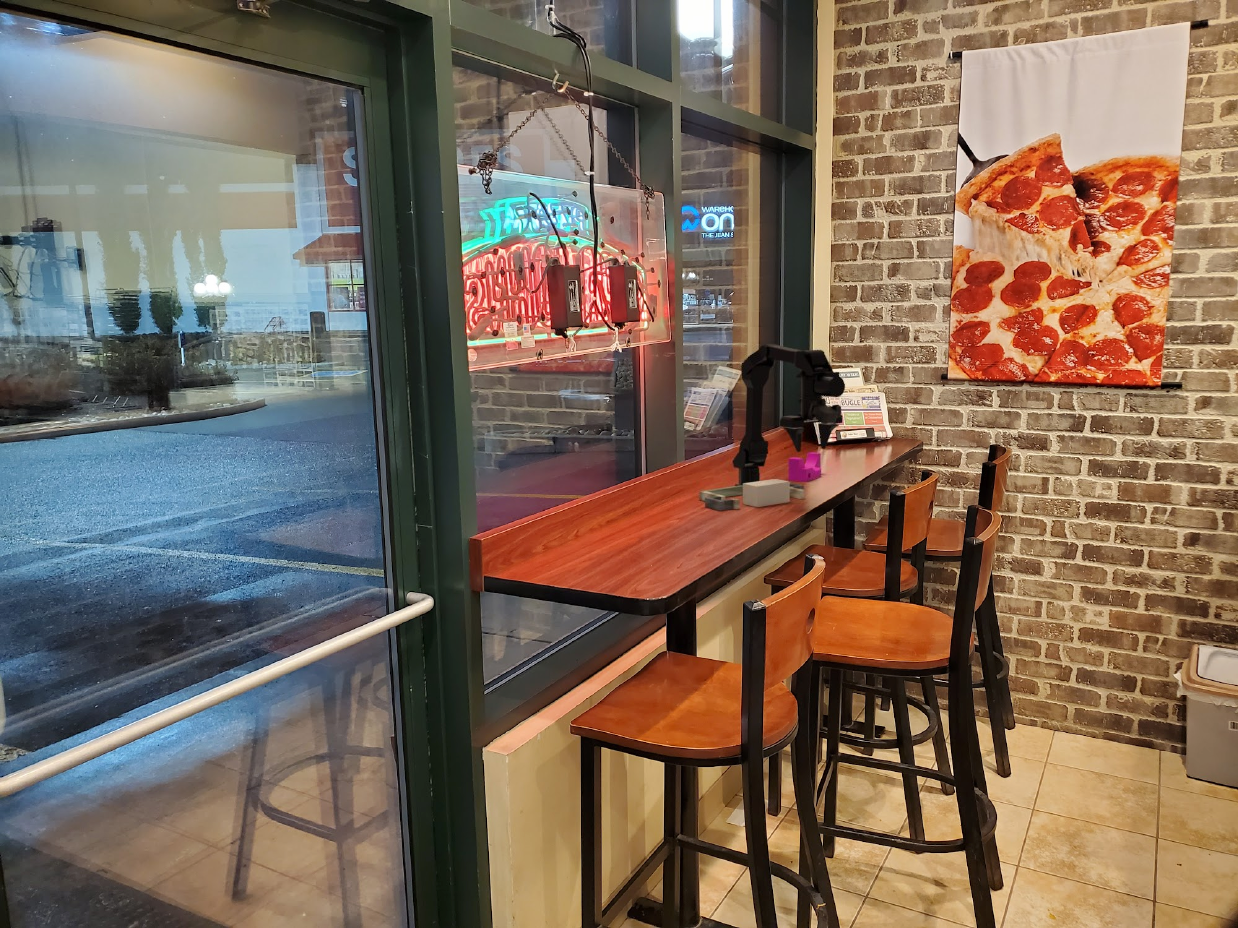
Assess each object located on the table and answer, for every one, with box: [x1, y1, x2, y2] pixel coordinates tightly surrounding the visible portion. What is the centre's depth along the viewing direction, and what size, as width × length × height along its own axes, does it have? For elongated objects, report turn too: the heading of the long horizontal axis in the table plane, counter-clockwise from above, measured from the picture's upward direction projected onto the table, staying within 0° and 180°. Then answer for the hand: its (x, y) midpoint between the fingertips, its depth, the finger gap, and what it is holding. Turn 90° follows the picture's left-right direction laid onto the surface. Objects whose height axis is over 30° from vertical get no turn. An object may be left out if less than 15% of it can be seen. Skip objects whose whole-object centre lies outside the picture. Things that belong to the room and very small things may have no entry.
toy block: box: [788, 452, 822, 483], centre depth 301 cm, size 15×6×8 cm, turn 142°
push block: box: [742, 478, 791, 508], centre depth 264 cm, size 6×12×6 cm, turn 121°
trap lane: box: [698, 482, 806, 511], centre depth 270 cm, size 17×34×2 cm, turn 121°
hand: (811, 450), depth 264 cm, fingers open, 9 cm apart
